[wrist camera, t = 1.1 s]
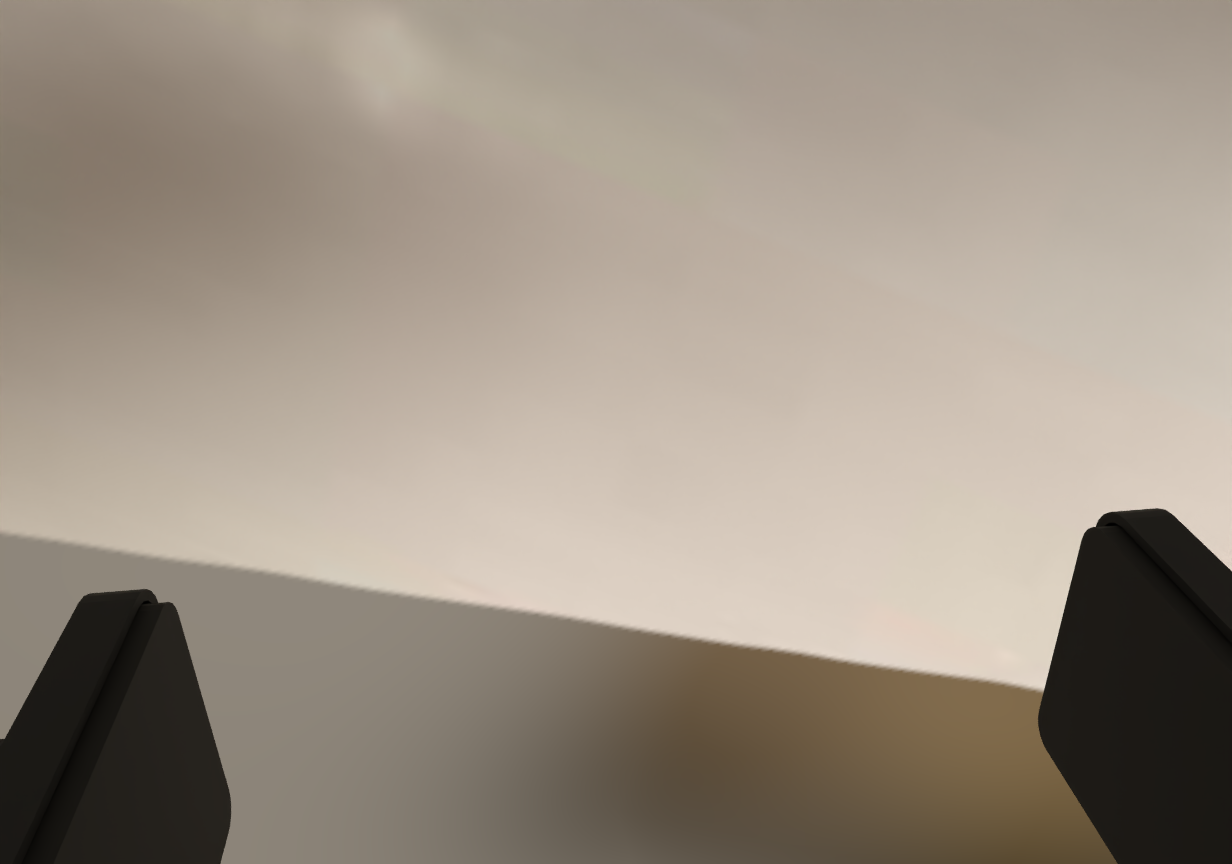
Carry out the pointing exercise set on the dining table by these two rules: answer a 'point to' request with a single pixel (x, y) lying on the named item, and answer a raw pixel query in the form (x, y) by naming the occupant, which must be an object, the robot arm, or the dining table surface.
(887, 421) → the dining table surface
